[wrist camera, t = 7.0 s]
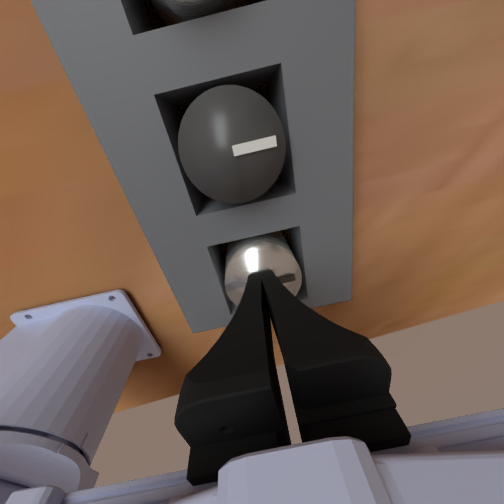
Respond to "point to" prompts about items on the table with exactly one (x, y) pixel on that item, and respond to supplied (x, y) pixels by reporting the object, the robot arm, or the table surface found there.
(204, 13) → the knob
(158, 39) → the control panel
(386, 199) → the table surface
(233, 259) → the knob
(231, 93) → the knob middle
